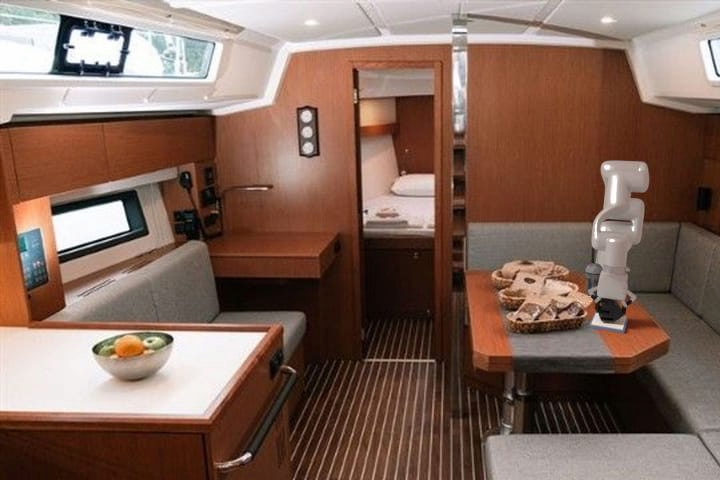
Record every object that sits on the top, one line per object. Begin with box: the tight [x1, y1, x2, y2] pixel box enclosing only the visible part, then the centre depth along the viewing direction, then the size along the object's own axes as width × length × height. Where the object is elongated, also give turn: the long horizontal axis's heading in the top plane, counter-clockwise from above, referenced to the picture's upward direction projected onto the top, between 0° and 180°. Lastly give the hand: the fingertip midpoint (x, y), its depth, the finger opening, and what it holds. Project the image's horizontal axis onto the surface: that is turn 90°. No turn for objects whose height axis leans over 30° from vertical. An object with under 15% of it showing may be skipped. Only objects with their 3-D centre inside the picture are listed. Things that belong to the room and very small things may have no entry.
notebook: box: [588, 311, 629, 334], centre depth 220 cm, size 16×12×1 cm
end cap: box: [598, 298, 623, 322], centre depth 219 cm, size 10×7×7 cm
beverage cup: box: [584, 252, 603, 297], centre depth 247 cm, size 7×7×20 cm
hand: (609, 313), depth 219 cm, fingers closed on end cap, 8 cm apart
